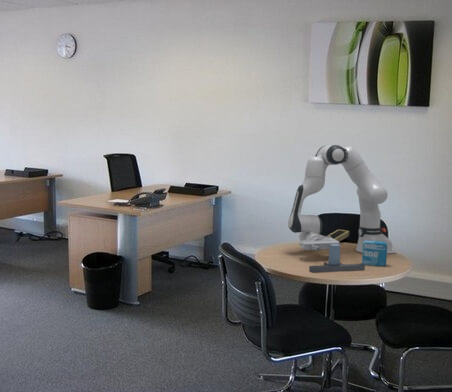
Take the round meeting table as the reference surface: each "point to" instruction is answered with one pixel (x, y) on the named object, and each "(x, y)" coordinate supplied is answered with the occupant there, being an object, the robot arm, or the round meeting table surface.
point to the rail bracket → (336, 267)
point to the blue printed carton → (374, 253)
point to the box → (339, 235)
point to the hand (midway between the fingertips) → (326, 248)
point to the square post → (334, 254)
